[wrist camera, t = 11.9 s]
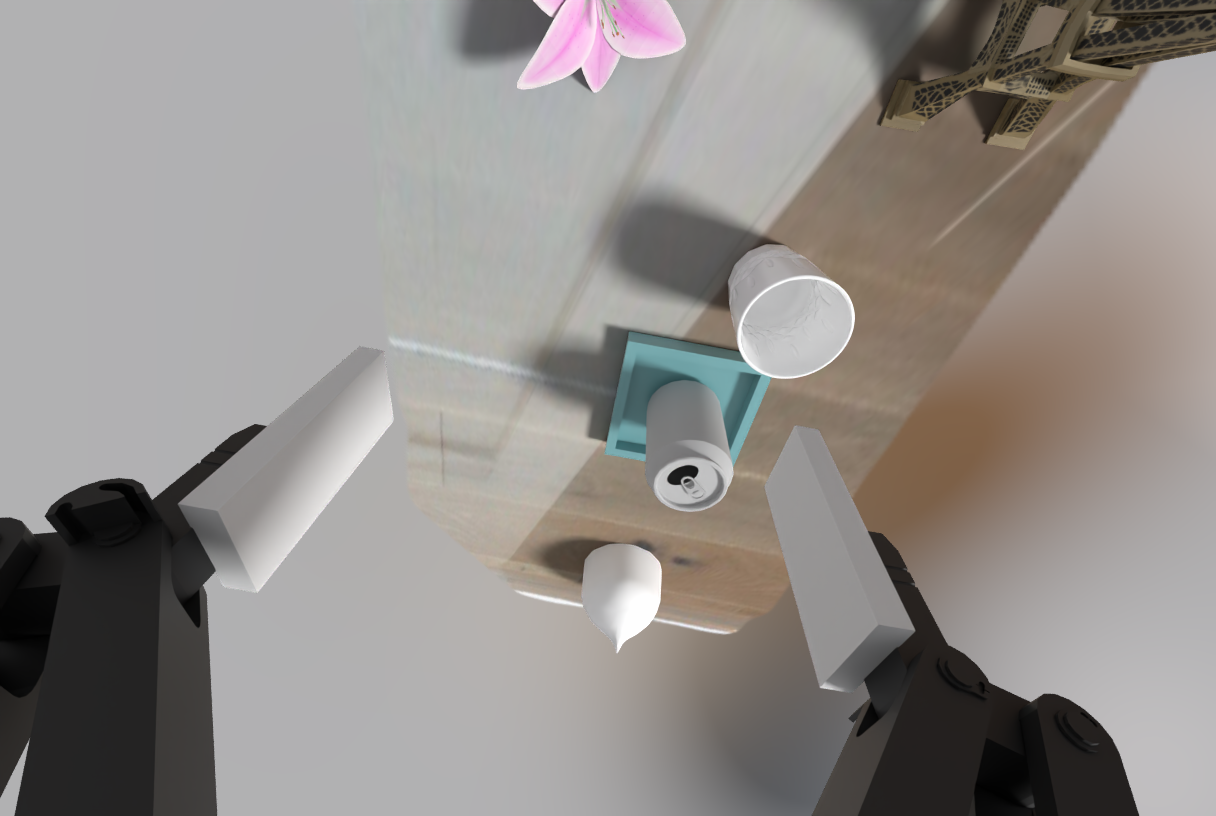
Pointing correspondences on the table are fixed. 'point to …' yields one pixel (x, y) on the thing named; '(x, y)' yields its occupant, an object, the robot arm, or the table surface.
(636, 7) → the lily
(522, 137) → the table surface
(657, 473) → the can
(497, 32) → the table surface
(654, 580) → the teardrop
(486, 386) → the table surface
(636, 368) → the tray
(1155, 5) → the eiffel tower
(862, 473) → the table surface
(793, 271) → the white cup
